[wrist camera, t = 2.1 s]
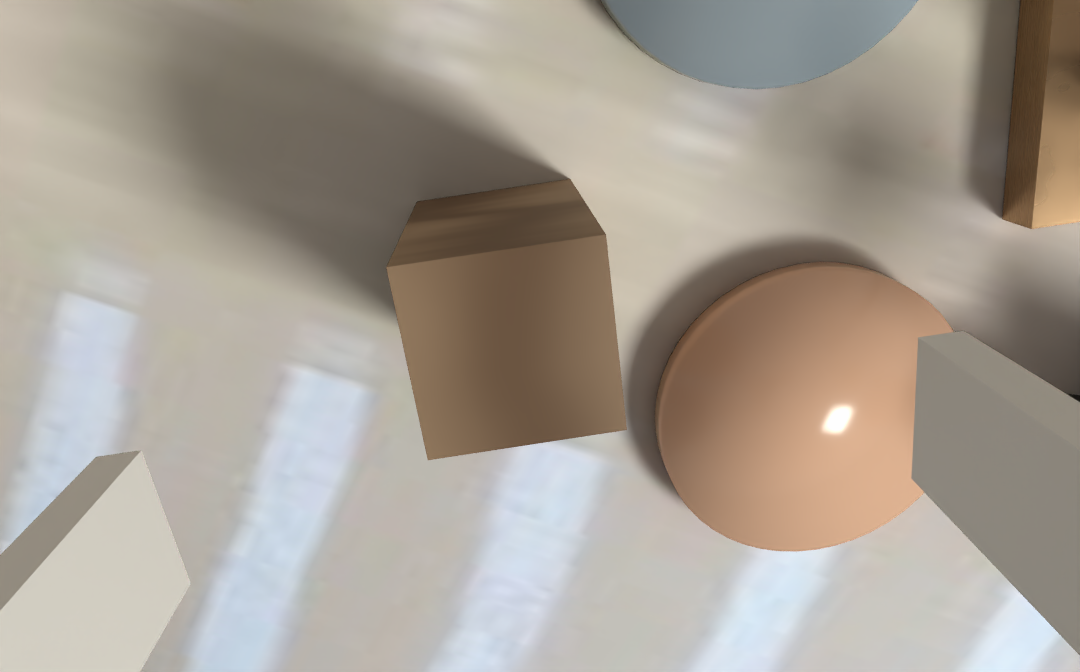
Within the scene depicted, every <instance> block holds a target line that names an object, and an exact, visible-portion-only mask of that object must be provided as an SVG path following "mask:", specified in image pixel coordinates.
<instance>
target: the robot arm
mask: <svg viewBox="0 0 1080 672" xmlns="http://www.w3.org/2000/svg"><path fill="white" fill-rule="evenodd" d="M911 479H912V480H913V481H914V482H915V483H916V484H917V485H918V486H919V487H920V488H921V489H922V490H923V491H924V492H925V493H926V494H927V495H928V496H929V497H930V499H931V500H932V501H933V502H934V503H935V504H936V505H937V506H938V507H939V508H940V509H941V510H942V511H943V512H944V513H945V514H946V515H947V516H948V517H949V519H950V520H951V521H952V522H953V523H954V524H955V525H956V526H957V527H958V528H959V529H960V530H961V531H962V532H963V533H964V534H965V535H966V536H967V537H968V538H969V540H970V541H971V542H972V543H973V544H974V545H975V546H976V547H977V548H978V549H979V550H980V551H981V552H982V553H983V554H984V555H985V556H986V557H987V558H988V560H989V561H990V562H991V563H992V564H993V565H994V566H995V567H996V568H997V569H998V570H999V571H1000V572H1001V573H1002V574H1003V575H1004V576H1005V577H1006V578H1007V579H1008V581H1009V582H1010V583H1011V584H1012V585H1013V586H1014V587H1015V588H1016V589H1017V590H1018V591H1019V592H1020V593H1021V594H1022V595H1023V596H1024V597H1025V598H1026V599H1027V600H1028V602H1029V603H1030V604H1031V605H1032V606H1033V607H1034V608H1035V609H1036V610H1037V611H1038V612H1039V613H1040V614H1041V615H1042V616H1043V617H1044V618H1045V619H1046V620H1047V622H1048V623H1049V624H1050V625H1051V626H1052V627H1053V628H1054V629H1055V630H1056V631H1057V632H1058V633H1059V634H1060V635H1061V636H1062V637H1063V638H1064V639H1065V640H1066V641H1067V643H1068V644H1069V645H1070V646H1071V647H1072V648H1073V649H1074V650H1075V651H1076V652H1077V653H1078V654H1079V655H1080V402H1079V401H1077V400H1075V399H1074V398H1072V397H1070V396H1069V395H1067V394H1066V393H1064V392H1062V391H1061V390H1059V389H1057V388H1056V387H1054V386H1053V385H1051V384H1049V383H1048V382H1046V381H1044V380H1043V379H1041V378H1040V377H1038V376H1036V375H1035V374H1033V373H1031V372H1030V371H1028V370H1027V369H1025V368H1023V367H1022V366H1020V365H1018V364H1017V363H1015V362H1014V361H1012V360H1010V359H1009V358H1007V357H1005V356H1004V355H1002V354H1001V353H999V352H997V351H996V350H994V349H992V348H991V347H989V346H988V345H986V344H984V343H983V342H981V341H979V340H978V339H976V338H975V337H973V336H971V335H970V334H968V333H966V332H965V331H958V332H951V333H944V334H937V335H931V336H924V337H918V351H917V372H916V393H915V414H914V435H913V455H912V476H911ZM190 584H191V583H190V580H189V577H188V574H187V572H186V569H185V566H184V564H183V561H182V558H181V556H180V553H179V550H178V548H177V545H176V542H175V540H174V537H173V534H172V532H171V529H170V526H169V523H168V521H167V518H166V515H165V513H164V510H163V507H162V505H161V502H160V499H159V497H158V494H157V491H156V489H155V486H154V483H153V480H152V478H151V475H150V472H149V470H148V467H147V464H146V462H145V459H144V456H143V454H142V451H134V452H127V453H120V454H113V455H106V456H99V457H96V458H95V459H94V460H93V461H92V462H91V463H90V464H89V465H88V466H87V467H86V468H85V469H84V470H83V471H82V472H81V473H80V474H79V475H78V476H77V477H76V478H75V479H74V480H73V481H72V482H71V483H70V484H69V485H68V486H67V487H66V488H65V489H64V490H63V491H62V492H61V493H60V494H59V495H58V496H57V497H56V499H55V500H54V501H53V502H52V503H51V504H50V505H49V506H48V507H47V508H46V509H45V510H44V511H43V512H42V513H41V514H40V515H39V516H38V517H37V518H36V519H35V520H34V521H33V522H32V523H31V524H30V525H29V526H28V527H27V528H26V529H25V530H24V531H23V532H22V533H21V534H20V535H19V536H18V537H17V539H16V540H15V541H14V542H13V543H12V544H11V545H10V546H9V547H8V548H7V549H6V550H5V551H4V552H3V553H2V554H1V555H0V672H140V671H141V669H142V668H143V666H144V664H145V662H146V661H147V659H148V657H149V655H150V654H151V652H152V650H153V648H154V647H155V645H156V643H157V641H158V640H159V638H160V636H161V634H162V633H163V631H164V629H165V627H166V626H167V624H168V622H169V620H170V619H171V617H172V615H173V613H174V612H175V610H176V608H177V606H178V605H179V603H180V601H181V599H182V598H183V596H184V594H185V592H186V591H187V589H188V587H189V585H190Z"/></svg>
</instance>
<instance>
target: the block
mask: <svg viewBox="0 0 1080 672" xmlns="http://www.w3.org/2000/svg"><path fill="white" fill-rule="evenodd" d="M386 269H387V273H388V278H389V283H390V287H391V292H392V296H393V301H394V306H395V310H396V315H397V320H398V324H399V329H400V333H401V338H402V343H403V347H404V352H405V357H406V361H407V366H408V370H409V375H410V380H411V384H412V389H413V394H414V398H415V403H416V407H417V412H418V417H419V421H420V426H421V431H422V435H423V440H424V444H425V449H426V454H427V458H428V460H432V459H439V458H445V457H452V456H458V455H465V454H471V453H478V452H485V451H491V450H498V449H504V448H511V447H517V446H524V445H530V444H537V443H544V442H550V441H557V440H563V439H570V438H576V437H583V436H589V435H596V434H603V433H609V432H616V431H622V430H627V427H626V417H625V408H624V399H623V389H622V380H621V371H620V361H619V352H618V343H617V334H616V324H615V315H614V306H613V296H612V287H611V278H610V268H609V259H608V250H607V240H606V234H605V232H604V231H603V229H602V228H601V226H600V225H599V223H598V222H597V220H596V218H595V217H594V215H593V214H592V212H591V211H590V209H589V208H588V206H587V204H586V203H585V201H584V200H583V198H582V197H581V195H580V194H579V192H578V190H577V189H576V187H575V186H574V184H573V183H572V181H571V180H570V179H567V180H560V181H553V182H546V183H540V184H533V185H526V186H519V187H513V188H506V189H499V190H492V191H486V192H479V193H472V194H465V195H459V196H452V197H445V198H438V199H432V200H425V201H418V202H417V203H416V205H415V207H414V209H413V211H412V213H411V216H410V218H409V220H408V222H407V224H406V226H405V228H404V230H403V233H402V235H401V237H400V239H399V241H398V243H397V245H396V248H395V250H394V252H393V254H392V256H391V258H390V260H389V262H388V265H387V267H386Z"/></svg>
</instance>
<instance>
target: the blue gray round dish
mask: <svg viewBox="0 0 1080 672" xmlns="http://www.w3.org/2000/svg"><path fill="white" fill-rule="evenodd" d="M917 1H918V0H601V2H602V3H603V5H604V7H605V9H606V10H607V12H608V14H609V15H610V16H611V17H612V19H613V20H614V21H615V23H616V24H617V25H618V26H619V28H620V29H621V30H622V32H623V33H624V34H625V35H626V36H627V37H628V38H629V39H630V40H631V41H632V42H633V43H634V44H636V45H637V46H638V47H639V48H640V49H641V50H642V51H643V52H645V53H646V54H648V55H649V56H650V57H652V58H653V59H654V60H656V61H657V62H658V63H660V64H662V65H664V66H666V67H668V68H669V69H671V70H673V71H675V72H677V73H679V74H681V75H684V76H687V77H690V78H692V79H695V80H698V81H701V82H706V83H711V84H715V85H720V86H726V87H732V88H747V89H765V88H778V87H784V86H789V85H793V84H798V83H803V82H806V81H809V80H812V79H814V78H817V77H820V76H823V75H826V74H828V73H830V72H832V71H834V70H836V69H838V68H840V67H842V66H844V65H846V64H848V63H850V62H851V61H853V60H854V59H856V58H857V57H859V56H860V55H862V54H863V53H865V52H866V51H868V50H869V49H871V48H872V47H873V46H874V45H875V44H877V43H878V42H879V41H880V40H881V39H882V38H884V37H885V36H886V35H887V34H888V33H889V32H891V31H892V30H893V29H894V28H895V26H896V25H897V24H898V23H899V22H900V21H901V20H902V19H903V18H904V17H905V16H906V15H907V14H908V13H909V11H910V10H911V9H912V8H913V6H914V5H915V4H916V2H917Z"/></svg>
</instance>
